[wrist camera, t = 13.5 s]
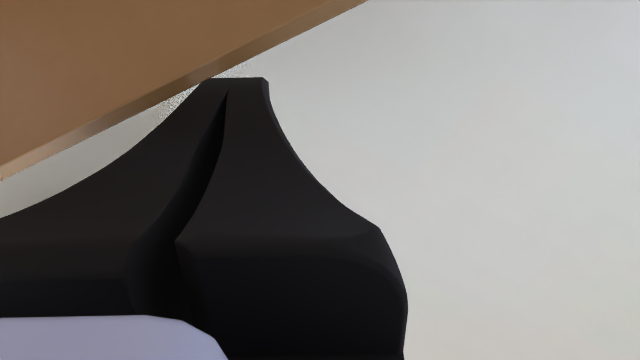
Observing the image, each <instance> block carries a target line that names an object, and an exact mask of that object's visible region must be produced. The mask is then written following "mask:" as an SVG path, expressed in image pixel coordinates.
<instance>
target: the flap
mask: <svg viewBox="0 0 640 360" xmlns="http://www.w3.org/2000/svg"><path fill="white" fill-rule="evenodd" d="M366 1H368V0H0V181H2V180H4V179H6V178H8V177H10V176H12V175H14V174H16V173H18V172H20V171H22V170H24V169H26V168H28V167H30V166H32V165H34V164H36V163H38V162H40V161H42V160H45V159H47V158H49V157H51V156H53V155H55V154H57V153H59V152H61V151H63V150H65V149H67V148H69V147H71V146H73V145H75V144H77V143H79V142H81V141H83V140H85V139H87V138H89V137H91V136H93V135H95V134H97V133H99V132H101V131H104V130H106V129H108V128H110V127H112V126H114V125H116V124H118V123H120V122H122V121H124V120H126V119H128V118H130V117H132V116H134V115H136V114H138V113H140V112H142V111H144V110H146V109H148V108H150V107H152V106H154V105H156V104H158V103H160V102H163V101H165V100H167V99H169V98H171V97H173V96H175V95H177V94H179V93H181V92H183V91H185V90H187V89H189V88H191V87H193V86H195V85H197V84H199V83H201V82H203V81H205V80H207V79H209V78H211V77H213V76H215V75H217V74H220V73H222V72H224V71H226V70H228V69H230V68H232V67H234V66H236V65H238V64H240V63H242V62H244V61H246V60H248V59H250V58H252V57H254V56H256V55H258V54H260V53H262V52H264V51H266V50H268V49H270V48H272V47H274V46H276V45H279V44H281V43H283V42H285V41H287V40H289V39H291V38H293V37H295V36H297V35H299V34H301V33H303V32H305V31H307V30H309V29H311V28H313V27H315V26H317V25H319V24H321V23H323V22H325V21H327V20H329V19H331V18H333V17H335V16H338V15H340V14H342V13H344V12H346V11H348V10H350V9H352V8H354V7H356V6H358V5H360V4H362V3H364V2H366Z"/></svg>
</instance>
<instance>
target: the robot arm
mask: <svg viewBox="0 0 640 360" xmlns="http://www.w3.org/2000/svg"><path fill="white" fill-rule="evenodd" d="M407 315H408V300H407V293H406V289H405V285H404V282H403V279H402V276H401V273H400V270H399V268H398V265H397V263H396V260H395V258H394V256H393V254H392V251H391V249H390V247H389V245H388V243H387V241H386V239H385V237H384V235H383V233H382V232H381V230H380V228H379V227H377V226H376V225H374V224H373V223H371V222H370V221H368V220H366V219H365V218H363V217H361V216H360V215H358V214H356V213H355V212H353V211H352V210H350V209H349V208H347V207H346V206H344V205H343V204H342V203H341V202H339V201H338V200H337V199H336V198H335V197H334V196H333V195H332V194H331V193H330V192H329V191H328V190H327V189H326V188H325V187H324V186H322V185H321V184H320V183H319V182H318V181H317V179H316V178H315V177H314V176H313V175H312V174H311V173H310V171H309V170H308V169H307V168H306V166H305V165H304V164H303V162H302V161H301V160H300V159H299V157H298V156H297V154H296V153H295V151H294V150H293V148H292V147H291V145H290V143H289V141H288V140H287V138H286V136H285V135H284V133H283V131H282V129H281V127H280V125H279V122H278V120H277V118H276V116H275V114H274V111H273V108H272V105H271V102H270V97H269V83H268V81H266V80H265V79H264V78H263V77H254V78H209V79H207V80H205V81H203V82H201V84H200V85H199V86H198V87H197V88H196V89H195V90H194V91H193V92H192V93H191V94H190V95H189V96H188V97H187V98H186V99H185V100H184V101H183V102H182V103H181V104H180V105H179V106H178V107H177V108H176V109H175V110H174V111H173V112H172V113H171V114H170V115H169V116H168V117H167V118H166V119H165V120H164V121H163V122H162V123H161V124H160V125H158V126H157V127H156V128H155V129H154V130H153V131H152V132H150V133H149V134H148V135H147V136H146V137H145V138H143V139H142V140H141V141H140V142H139V143H138V144H136V145H135V146H134V147H133V148H131V149H130V150H129V151H127V152H126V153H125V154H123V155H122V156H120V157H119V158H118V159H116V160H115V161H113V162H112V163H110V164H109V165H107V166H106V167H104V168H103V169H101V170H99V171H98V172H96V173H94V174H93V175H91V176H89V177H87V178H85V179H84V180H82V181H80V182H78V183H77V184H75V185H73V186H71V187H69V188H68V189H66V190H64V191H62V192H60V193H58V194H56V195H54V196H52V197H50V198H48V199H45V200H43V201H41V202H39V203H37V204H34V205H32V206H30V207H27V208H25V209H23V210H20V211H18V212H15V213H13V214H10V215H8V216H5V217H2V218H0V360H404V355H403V348H404V339H405V331H406V323H407Z"/></svg>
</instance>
